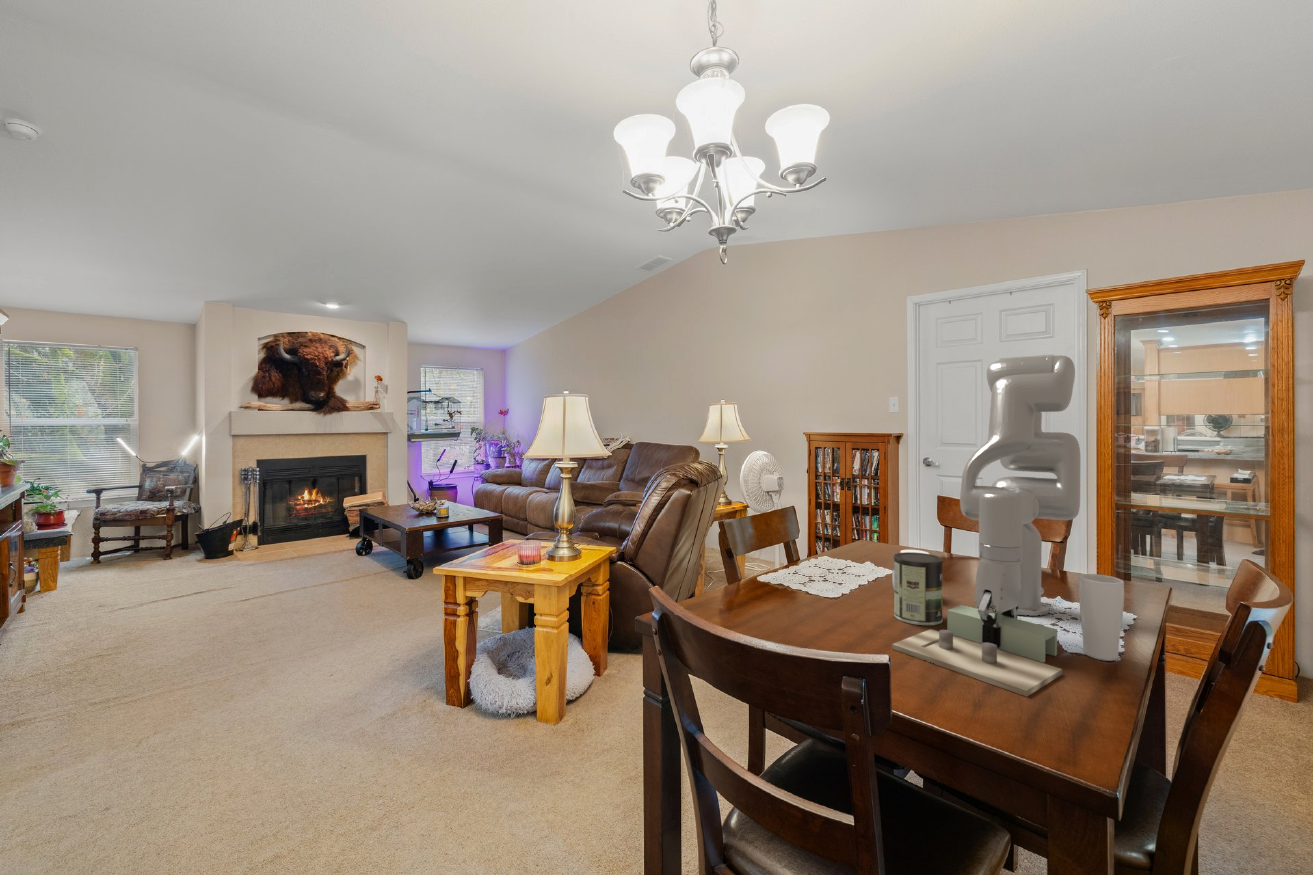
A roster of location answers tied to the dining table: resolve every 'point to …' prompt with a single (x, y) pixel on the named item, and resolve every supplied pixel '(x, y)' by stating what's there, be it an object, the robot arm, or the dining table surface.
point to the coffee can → (918, 588)
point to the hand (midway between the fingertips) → (999, 640)
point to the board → (979, 661)
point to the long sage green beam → (1005, 633)
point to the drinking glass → (1101, 615)
